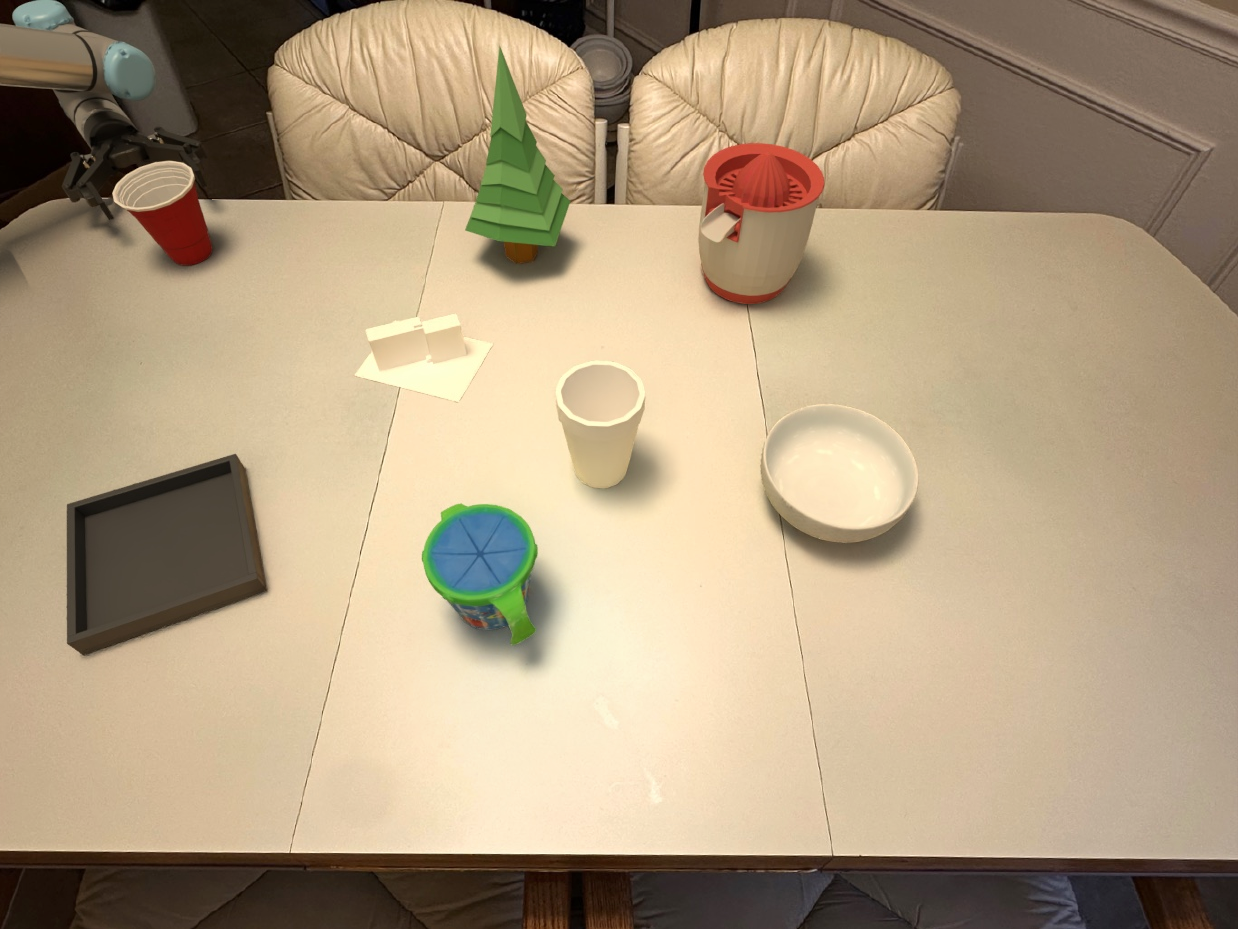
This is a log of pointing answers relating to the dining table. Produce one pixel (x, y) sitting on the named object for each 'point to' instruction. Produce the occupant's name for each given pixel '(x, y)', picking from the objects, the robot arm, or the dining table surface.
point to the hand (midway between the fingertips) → (155, 194)
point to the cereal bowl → (838, 472)
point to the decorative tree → (516, 181)
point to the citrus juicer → (756, 219)
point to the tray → (160, 553)
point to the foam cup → (600, 419)
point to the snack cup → (483, 566)
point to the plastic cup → (167, 209)
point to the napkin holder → (424, 356)
